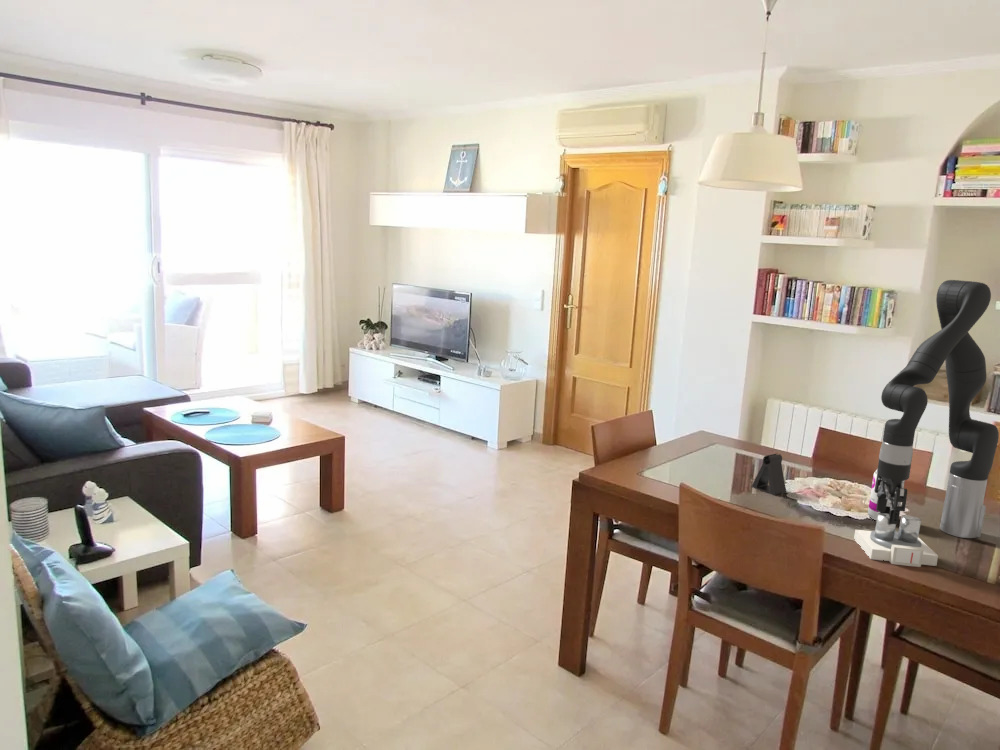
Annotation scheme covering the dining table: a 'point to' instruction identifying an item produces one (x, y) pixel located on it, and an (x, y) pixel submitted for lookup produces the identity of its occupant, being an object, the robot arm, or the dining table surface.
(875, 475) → the supplement can
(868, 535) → the scale
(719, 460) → the dining table surface
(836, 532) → the dining table surface
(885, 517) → the cylinder
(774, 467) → the black triangular stand
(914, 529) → the silver metal block
